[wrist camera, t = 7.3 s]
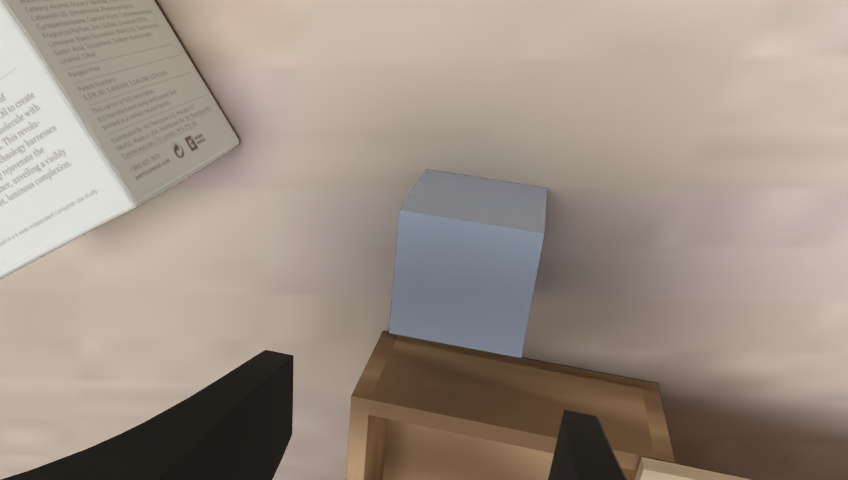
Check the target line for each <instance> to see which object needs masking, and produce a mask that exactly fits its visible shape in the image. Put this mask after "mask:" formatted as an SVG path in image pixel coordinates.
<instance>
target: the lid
mask: <svg viewBox="0 0 848 480" xmlns="http://www.w3.org/2000/svg"><path fill="white" fill-rule="evenodd" d="M635 480H751V479H746V478H742V477H737V476H732V475H727V474H722V473H717V472H712V471H708V470H703V469H698V468H693V467H688V466H683V465H678V464H674V463H669V462H664V461H659V460H654V459H649V458H644V457H641V461H640V464H639V467H638V471H637V474H636V477H635Z"/></svg>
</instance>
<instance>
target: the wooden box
mask: <svg viewBox="0 0 848 480" xmlns="http://www.w3.org/2000/svg"><path fill="white" fill-rule="evenodd" d="M564 410H569V411H574V412H579V413H584V414H589V415H594V416H596V417H597V418H598V419H599V421H600V422H601V425H602V427H603V430H604V432H605V435H606V437H607V439H608V441H609V444H610V446H611V448H612V450H613V452H614V454H615V457H616V459H617V461H618V463H619V465H620V467H621V469H622V471H623V473H624V475H625V477H626V479H627V480H635V477H636V474H637V471H638V467H639V464H640V461H641V457H644V458H649V459H654V460H659V461H664V462H669V463H674V464H675V459H674V454H673V450H672V445H671V441H670V436H669V432H668V428H667V423H666V419H665V414H664V410H663V405H662V401H661V397H660V392H659V388H658V384H657V383H652V382H647V381H641V380H636V379H631V378H626V377H620V376H615V375H610V374H605V373H599V372H594V371H589V370H583V369H578V368H573V367H568V366H562V365H557V364H552V363H547V362H541V361H536V360H531V359H526V358H518V357H513V356H507V355H502V354H497V353H492V352H486V351H481V350H476V349H471V348H465V347H460V346H455V345H449V344H444V343H439V342H434V341H428V340H423V339H418V338H413V337H407V336H402V335H397V334H392V333H389V332H384V331H383V332H382V334H381V336H380V338H379V340H378V342H377V344H376V346H375V348H374V350H373V353H372V355H371V357H370V359H369V361H368V363H367V365H366V367H365V369H364V371H363V373H362V375H361V377H360V379H359V381H358V383H357V386H356V388H355V390H354V392H353V394H352V396H351V411H350V427H349V444H348V460H347V476H346V480H548V478H549V473H550V469H551V465H552V460H553V456H554V451H555V447H556V443H557V438H558V434H559V430H560V425H561V421H562V417H563V412H564Z"/></svg>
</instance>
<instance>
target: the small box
mask: <svg viewBox="0 0 848 480" xmlns="http://www.w3.org/2000/svg"><path fill="white" fill-rule="evenodd" d="M238 144H239V139H238V137H237V136H236V134H235V132H234V131H233V129H232V128H231V126H230V124H229V123H228V121H227V119H226V117H225V116H224V114H223V113H222V111H221V110H220V108H219V106H218V105H217V103H216V101H215V100H214V98H213V96H212V95H211V93H210V91H209V90H208V88H207V86H206V85H205V83H204V82H203V80H202V78H201V77H200V75H199V73H198V72H197V70H196V69H195V67H194V65H193V64H192V62H191V60H190V59H189V57H188V55H187V54H186V52H185V50H184V49H183V47H182V45H181V44H180V42H179V40H178V39H177V37H176V35H175V34H174V32H173V30H172V29H171V27H170V25H169V24H168V22H167V20H166V19H165V17H164V16H163V14H162V12H161V11H160V9H159V7H158V6H157V4H156V2H155V1H154V0H0V279H2V278H4V277H6V276H7V275H9V274H11V273H13V272H15V271H17V270H19V269H20V268H22V267H24V266H26V265H28V264H30V263H32V262H34V261H35V260H37V259H39V258H41V257H43V256H45V255H47V254H49V253H50V252H52V251H54V250H56V249H58V248H60V247H62V246H63V245H65V244H67V243H69V242H71V241H73V240H75V239H77V238H78V237H80V236H82V235H84V234H86V233H88V232H90V231H92V230H93V229H95V228H97V227H99V226H101V225H103V224H105V223H107V222H108V221H110V220H112V219H114V218H116V217H118V216H120V215H122V214H124V213H126V212H128V211H130V210H132V209H134V208H136V207H138V206H140V205H142V204H144V203H145V202H147V201H149V200H151V199H153V198H154V197H156V196H158V195H159V194H161V193H163V192H165V191H166V190H168V189H170V188H171V187H173V186H175V185H176V184H178V183H180V182H181V181H183V180H185V179H186V178H188V177H189V176H191V175H193V174H194V173H196V172H198V171H199V170H201V169H203V168H204V167H206V166H208V165H209V164H211V163H213V162H214V161H216V160H217V159H218V158H220V157H221V156H223V155H224V154H226V153H227V152H229V151H230V150H232V149H233V148H235V147H236V146H237V145H238Z"/></svg>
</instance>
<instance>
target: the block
mask: <svg viewBox="0 0 848 480" xmlns="http://www.w3.org/2000/svg"><path fill="white" fill-rule="evenodd" d="M546 201H547V188H545V187H538V186H532V185H525V184H519V183H512V182H506V181H499V180H493V179H486V178H480V177H473V176H467V175H460V174H454V173H447V172H441V171H434V170H428V169H426V170H425V172H424V173H423V175H422V176H421V178H420V179H419V181H418V183H417V184H416V186H415V187H414V189H413V190H412V192H411V193H410V195H409V196H408V198H407V200H406V201H405V203H404V204H403V206H402V207H401V209H400V211H399V222H398V234H397V245H396V257H395V268H394V280H393V291H392V303H391V314H390V326H389V333H392V334H397V335H402V336H407V337H413V338H418V339H423V340H428V341H434V342H439V343H444V344H449V345H455V346H460V347H465V348H471V349H476V350H481V351H486V352H492V353H497V354H502V355H507V356H513V357H518V358H521V356H522V350H523V345H524V340H525V335H526V329H527V324H528V319H529V313H530V308H531V303H532V298H533V292H534V287H535V282H536V276H537V271H538V266H539V260H540V255H541V250H542V245H543V239H544V234H545V218H546Z"/></svg>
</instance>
